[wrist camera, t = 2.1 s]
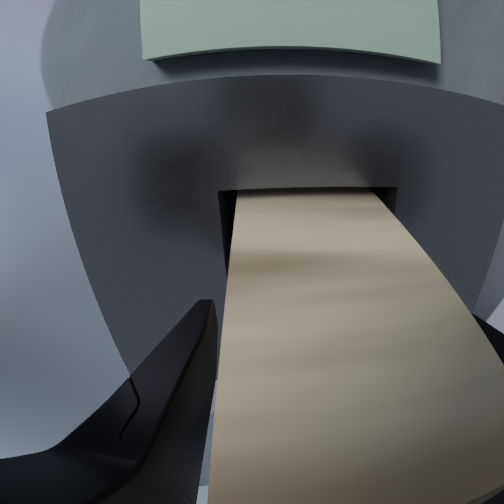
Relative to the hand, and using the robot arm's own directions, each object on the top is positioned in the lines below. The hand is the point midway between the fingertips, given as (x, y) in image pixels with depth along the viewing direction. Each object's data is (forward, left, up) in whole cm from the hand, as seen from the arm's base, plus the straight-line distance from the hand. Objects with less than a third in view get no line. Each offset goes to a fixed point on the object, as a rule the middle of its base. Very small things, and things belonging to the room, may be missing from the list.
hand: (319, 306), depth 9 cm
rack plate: (0, 0, -4) cm, 4 cm away
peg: (0, 0, -4) cm, 4 cm away
